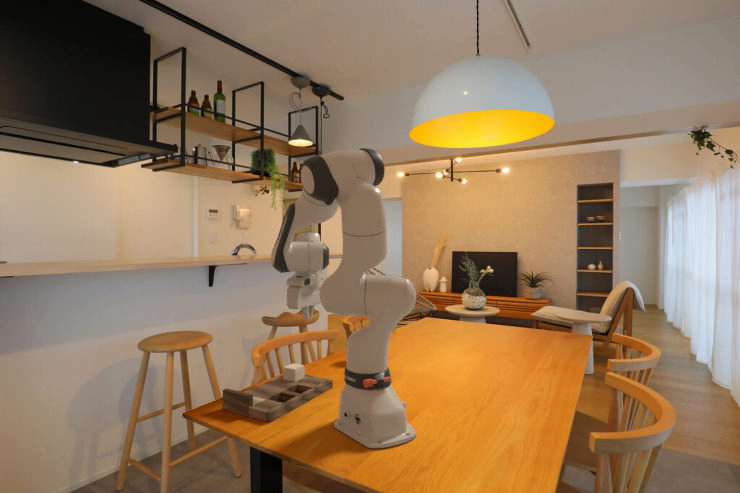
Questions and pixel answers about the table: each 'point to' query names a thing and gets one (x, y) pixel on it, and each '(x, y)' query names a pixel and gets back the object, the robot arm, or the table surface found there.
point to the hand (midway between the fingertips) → (308, 318)
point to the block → (293, 372)
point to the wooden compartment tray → (274, 397)
